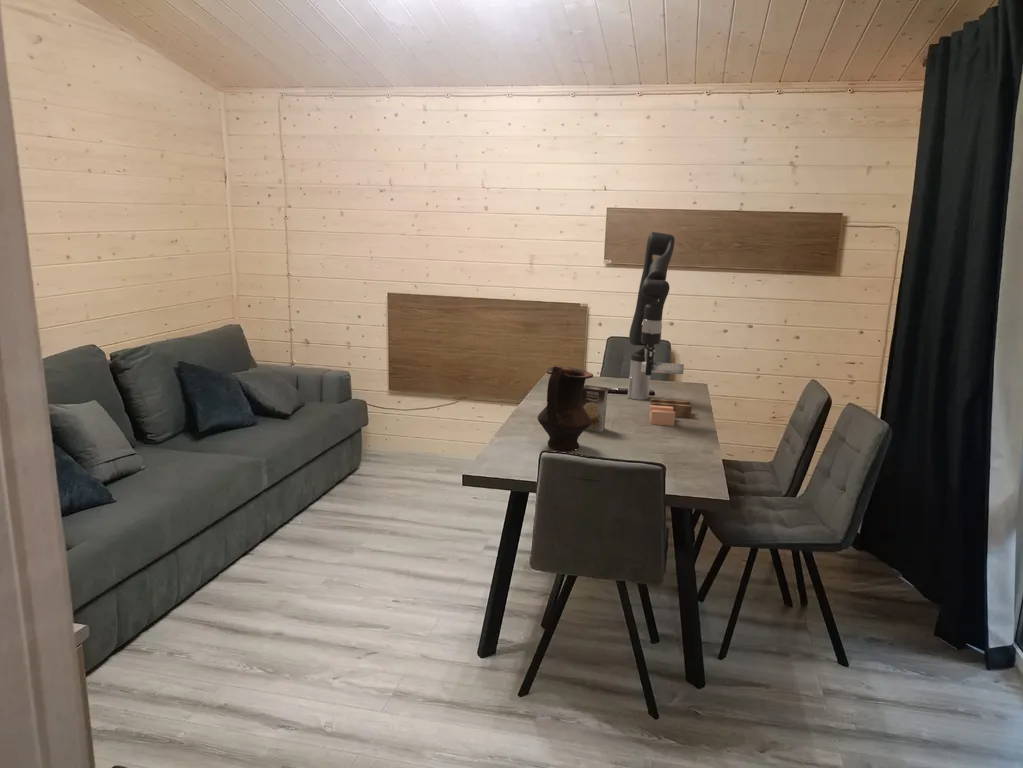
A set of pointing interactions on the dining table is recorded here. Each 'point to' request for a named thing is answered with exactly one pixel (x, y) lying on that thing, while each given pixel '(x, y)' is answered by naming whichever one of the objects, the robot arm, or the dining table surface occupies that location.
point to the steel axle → (665, 368)
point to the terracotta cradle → (662, 415)
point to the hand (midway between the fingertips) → (647, 373)
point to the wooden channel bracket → (675, 406)
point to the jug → (565, 408)
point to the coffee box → (595, 406)
